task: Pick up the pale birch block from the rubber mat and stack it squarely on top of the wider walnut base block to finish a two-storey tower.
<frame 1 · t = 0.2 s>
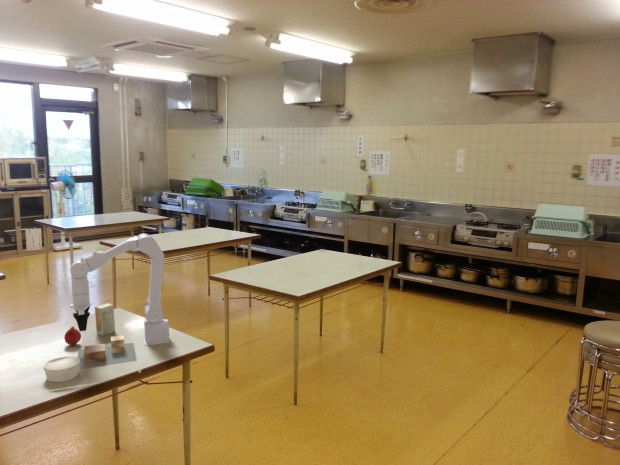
hand: (83, 327, 184), 10 cm above the table, tool pointing down, fingers open, 7 cm apart
mat: (106, 356, 182), on the table
onion: (73, 346, 191), on the table
birch block: (117, 350, 187), resting on mat
ramekin: (63, 377, 165), on the table
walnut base: (95, 358, 179), resting on mat
skincare box: (105, 333, 205), on the table
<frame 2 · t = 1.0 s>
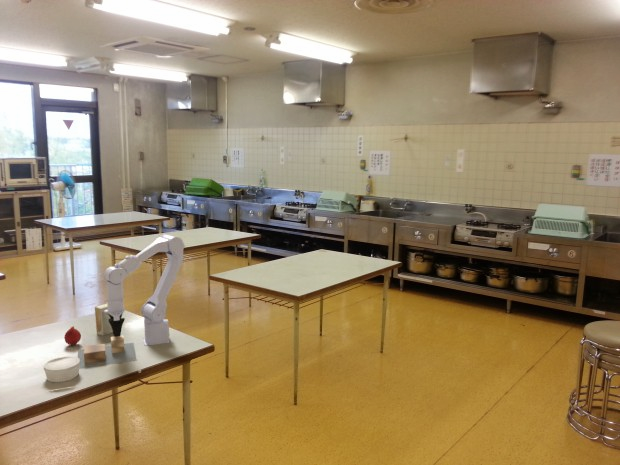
hand: (116, 332, 186), 8 cm above the table, tool pointing down, fingers open, 7 cm apart
nothing on the table moved.
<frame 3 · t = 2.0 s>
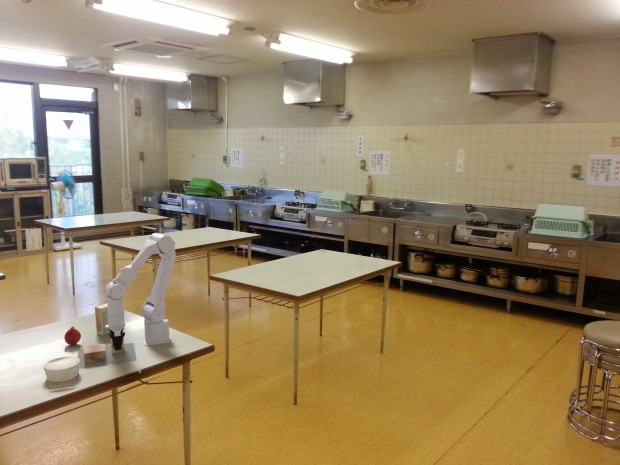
hand: (117, 347, 187), 2 cm above the table, tool pointing down, fingers closed on birch block, 4 cm apart
birch block: (117, 350, 187), resting on mat, touching gripper
everything else where it was.
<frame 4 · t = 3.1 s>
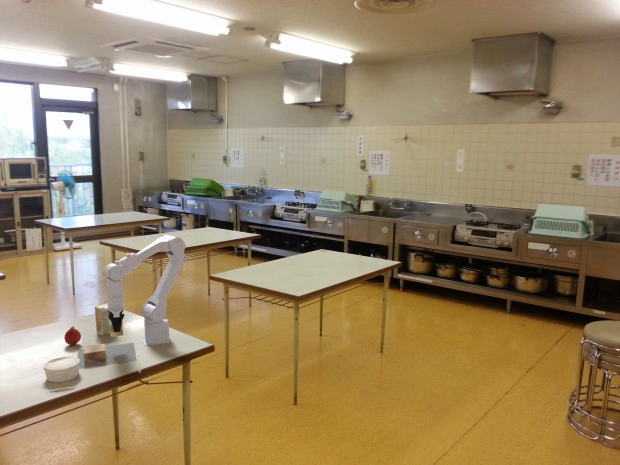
hand: (116, 329, 185), 9 cm above the table, tool pointing down, fingers closed on birch block, 4 cm apart
birch block: (116, 334, 186), point 7 cm above the table, touching gripper
everything else where it was.
when the fingers open (7 cm above the table, at t = 4.4 s): birch block stays where it is, resting on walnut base.
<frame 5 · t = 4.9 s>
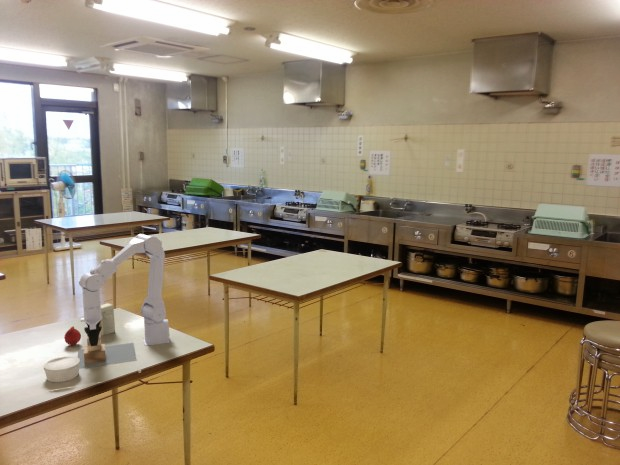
hand: (94, 341, 178), 7 cm above the table, tool pointing down, fingers open, 7 cm apart
birch block: (94, 348, 178), point 4 cm above the table, touching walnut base
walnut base: (95, 358, 179), resting on mat, touching birch block
everything else where it was.
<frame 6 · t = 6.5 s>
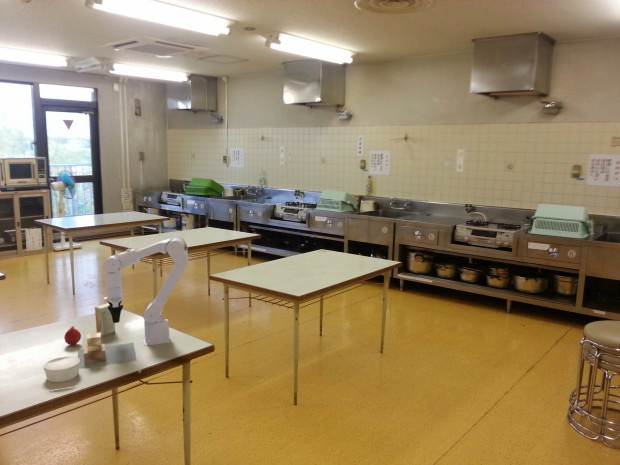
hand: (115, 319, 193), 10 cm above the table, tool pointing down, fingers open, 7 cm apart
nothing on the table moved.
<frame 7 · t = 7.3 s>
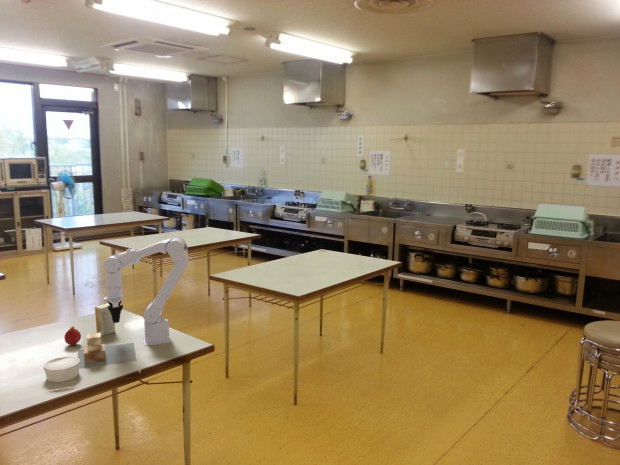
hand: (115, 319, 193), 10 cm above the table, tool pointing down, fingers open, 7 cm apart
nothing on the table moved.
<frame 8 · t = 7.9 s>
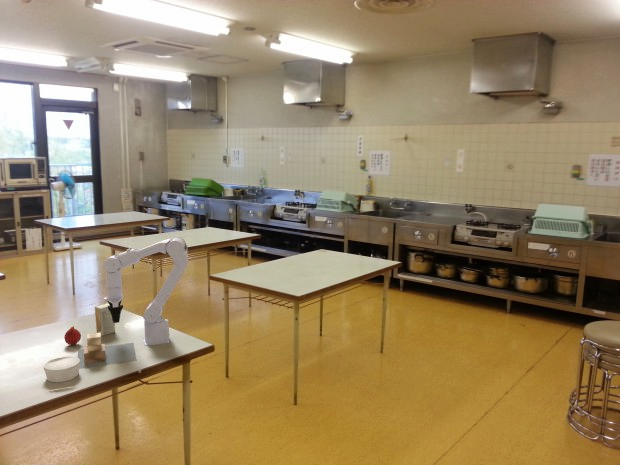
hand: (115, 319, 193), 10 cm above the table, tool pointing down, fingers open, 7 cm apart
nothing on the table moved.
at the end: birch block 0.0 cm off-centre on the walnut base, point 4.0 cm above the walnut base's base; birch block tilted 0°; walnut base moved 0.0 cm from its start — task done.
